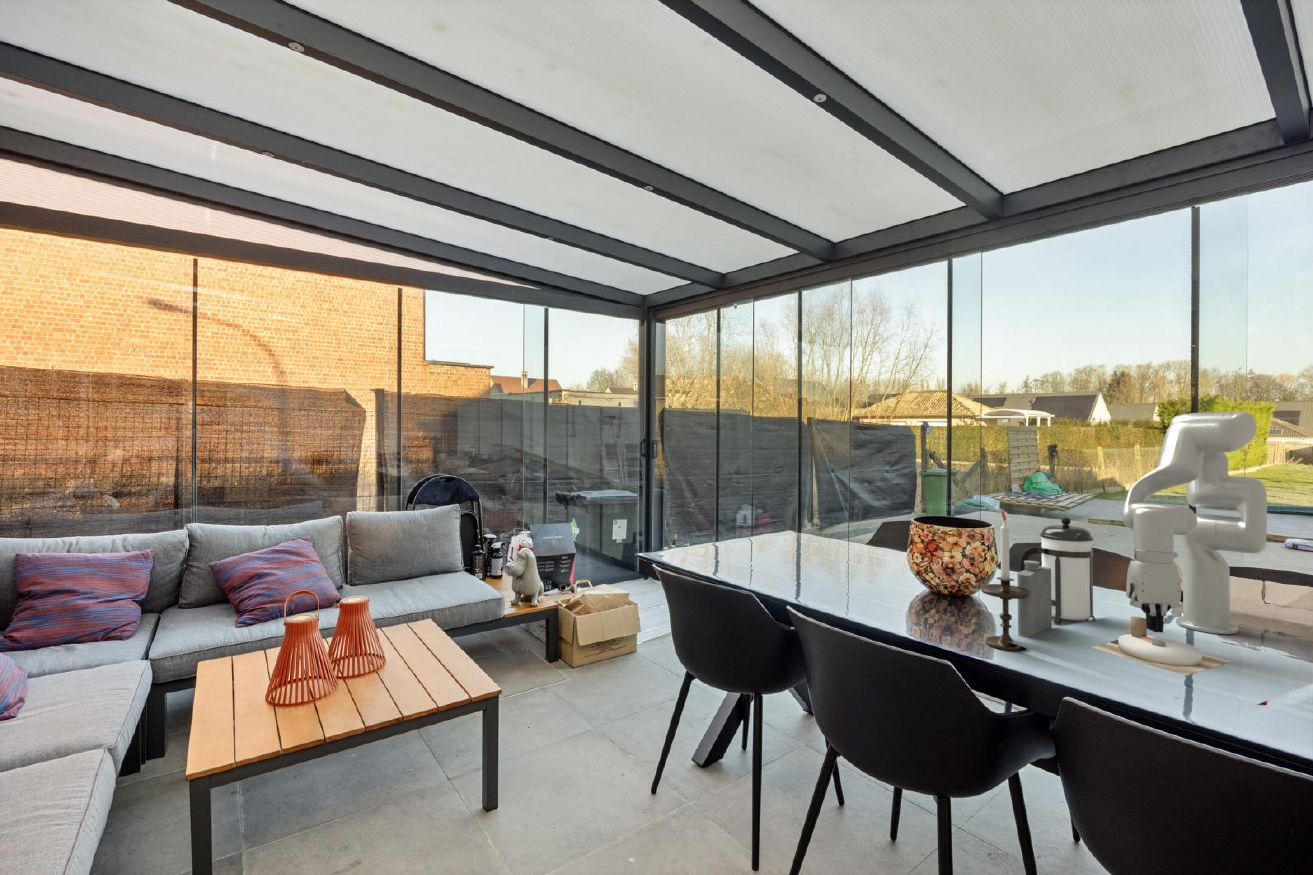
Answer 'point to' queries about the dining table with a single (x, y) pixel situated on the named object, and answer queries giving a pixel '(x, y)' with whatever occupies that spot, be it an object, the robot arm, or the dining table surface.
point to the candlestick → (1005, 596)
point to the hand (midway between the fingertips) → (1154, 630)
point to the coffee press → (1067, 569)
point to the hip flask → (1035, 600)
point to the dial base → (1181, 669)
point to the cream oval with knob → (1157, 646)
